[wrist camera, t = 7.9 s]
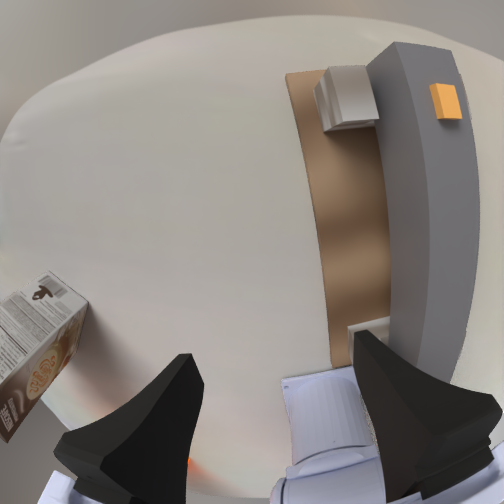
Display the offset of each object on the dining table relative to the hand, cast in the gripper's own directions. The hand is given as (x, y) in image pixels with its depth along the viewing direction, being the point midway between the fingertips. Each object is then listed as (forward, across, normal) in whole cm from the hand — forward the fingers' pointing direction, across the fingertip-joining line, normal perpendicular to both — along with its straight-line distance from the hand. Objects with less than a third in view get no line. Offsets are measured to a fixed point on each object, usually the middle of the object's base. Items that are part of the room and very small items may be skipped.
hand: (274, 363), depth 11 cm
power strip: (+7, -10, -2) cm, 12 cm away
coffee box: (+10, +23, +2) cm, 25 cm away
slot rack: (+10, -10, -2) cm, 14 cm away
